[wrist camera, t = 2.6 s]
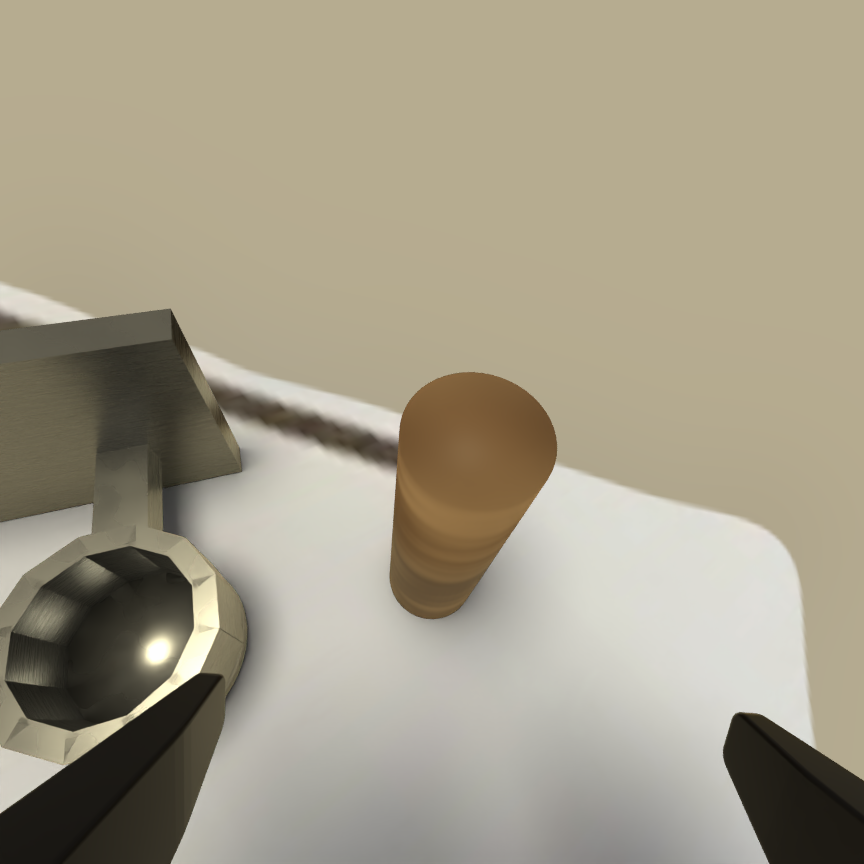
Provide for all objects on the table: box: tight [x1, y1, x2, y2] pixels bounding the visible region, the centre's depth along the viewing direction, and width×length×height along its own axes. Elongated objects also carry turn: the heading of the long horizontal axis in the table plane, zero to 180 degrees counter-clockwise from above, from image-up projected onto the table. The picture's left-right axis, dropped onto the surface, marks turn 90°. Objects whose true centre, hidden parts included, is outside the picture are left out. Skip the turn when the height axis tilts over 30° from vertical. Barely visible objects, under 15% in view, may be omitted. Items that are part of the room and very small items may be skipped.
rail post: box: [390, 372, 557, 619], centre depth 18 cm, size 4×4×13 cm
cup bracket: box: [0, 309, 247, 765], centre depth 17 cm, size 13×13×10 cm
